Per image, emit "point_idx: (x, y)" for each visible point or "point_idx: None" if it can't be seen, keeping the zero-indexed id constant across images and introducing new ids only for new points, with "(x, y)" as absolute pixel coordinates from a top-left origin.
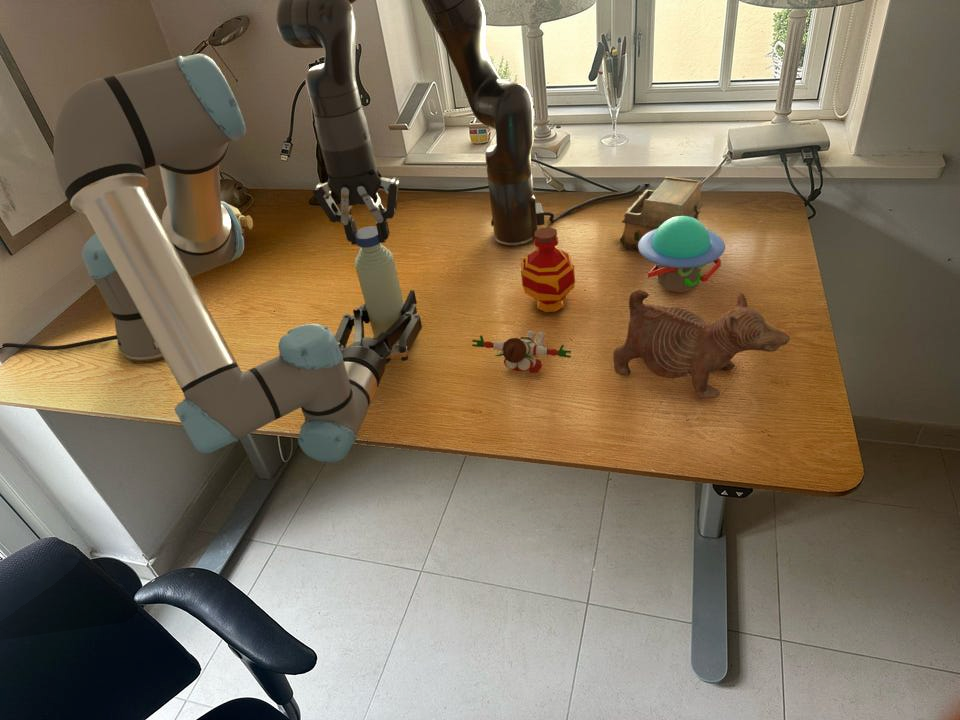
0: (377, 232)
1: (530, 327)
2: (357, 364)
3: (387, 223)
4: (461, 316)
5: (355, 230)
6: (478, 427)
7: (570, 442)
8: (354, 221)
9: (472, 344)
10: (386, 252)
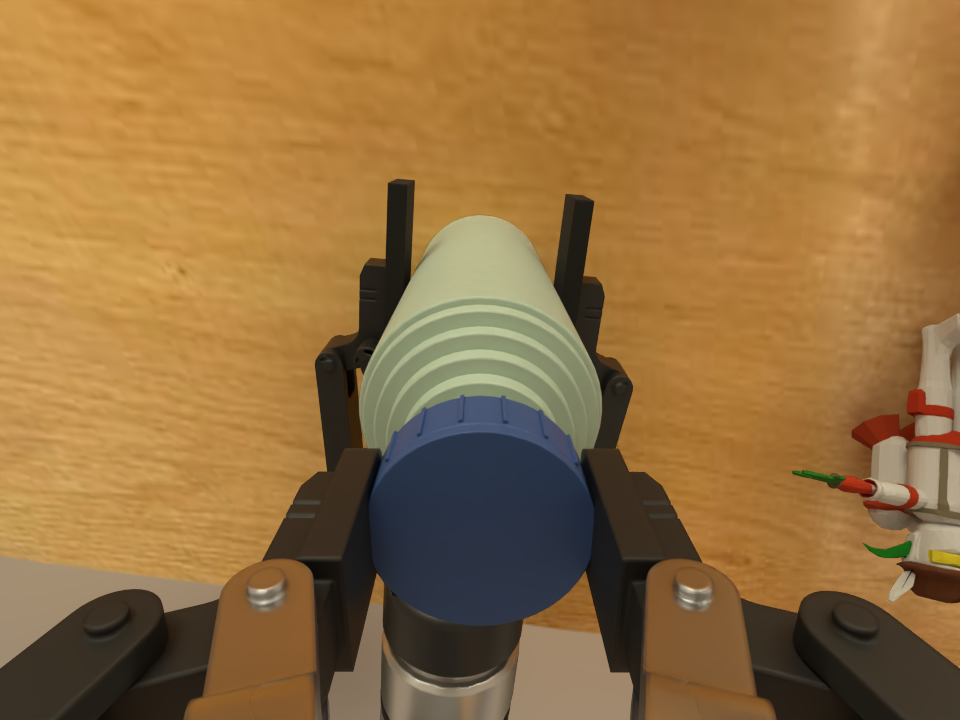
0: (572, 543)
1: (949, 220)
2: (477, 695)
3: (689, 546)
4: (712, 129)
5: (366, 527)
6: None
7: (930, 643)
8: (347, 544)
9: (796, 473)
10: (574, 426)
